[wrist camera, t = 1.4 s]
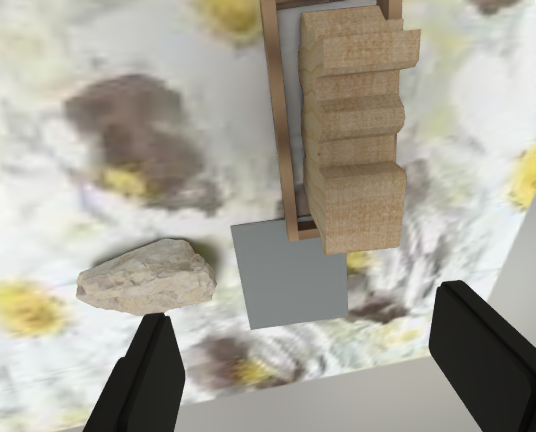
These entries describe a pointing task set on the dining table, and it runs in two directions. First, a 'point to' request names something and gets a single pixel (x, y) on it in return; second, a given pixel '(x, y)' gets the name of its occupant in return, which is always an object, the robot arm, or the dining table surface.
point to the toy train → (353, 125)
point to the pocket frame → (269, 4)
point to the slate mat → (288, 275)
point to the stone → (149, 280)
